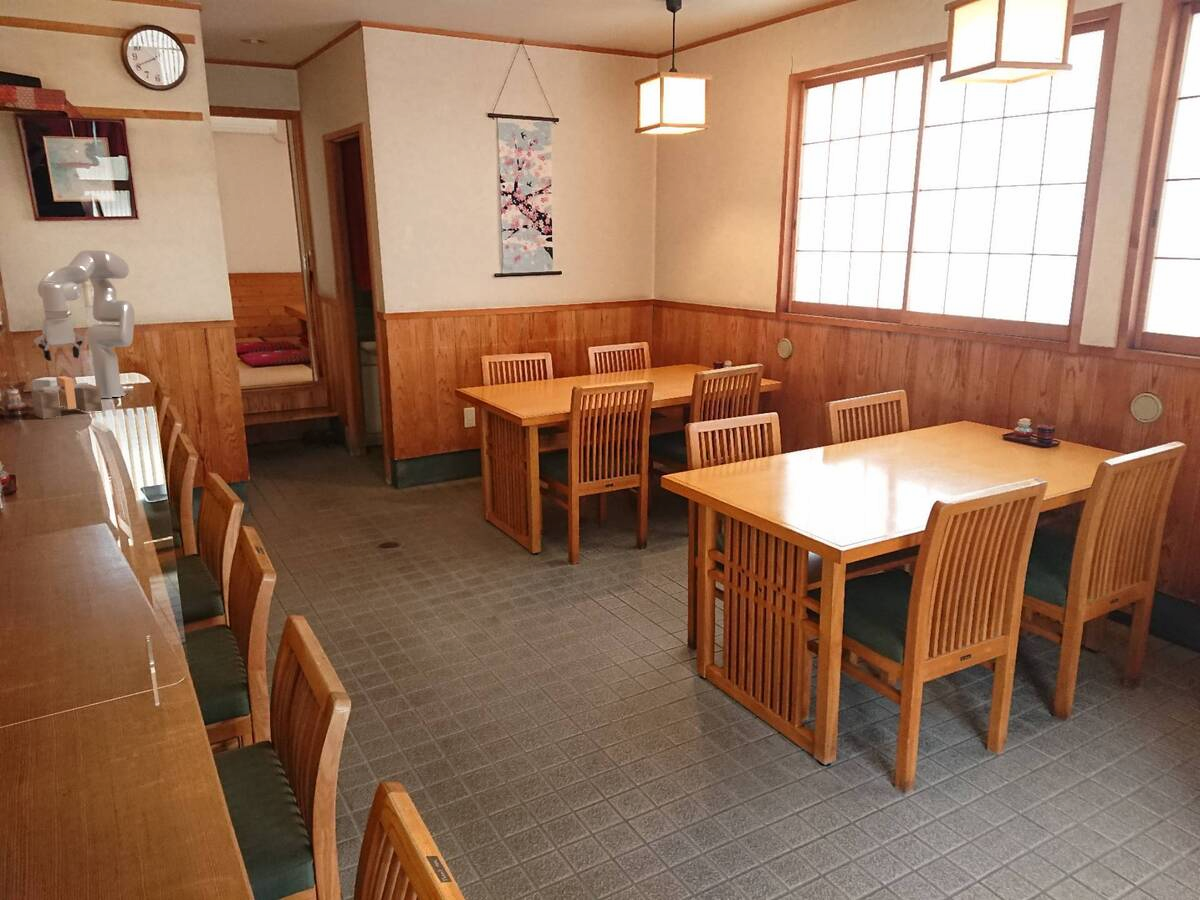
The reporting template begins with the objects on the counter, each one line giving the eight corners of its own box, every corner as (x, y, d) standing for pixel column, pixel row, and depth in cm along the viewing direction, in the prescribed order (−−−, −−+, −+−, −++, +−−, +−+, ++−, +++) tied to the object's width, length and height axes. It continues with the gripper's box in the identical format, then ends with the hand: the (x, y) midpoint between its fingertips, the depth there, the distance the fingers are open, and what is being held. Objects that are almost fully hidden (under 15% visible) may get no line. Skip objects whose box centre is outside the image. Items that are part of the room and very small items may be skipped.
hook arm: (86, 386, 338) (86, 382, 338) (88, 386, 337) (88, 383, 337) (42, 390, 326) (41, 387, 326) (43, 391, 325) (43, 387, 325)
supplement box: (53, 411, 338) (49, 380, 335) (35, 410, 338) (31, 379, 335) (65, 407, 345) (61, 377, 342) (47, 406, 345) (43, 376, 342)
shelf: (92, 408, 345) (89, 384, 343) (102, 411, 339) (99, 387, 337) (34, 415, 330) (31, 390, 327) (43, 419, 323) (40, 393, 321)
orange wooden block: (68, 405, 337) (64, 376, 334) (76, 408, 332) (72, 378, 329) (60, 406, 335) (56, 376, 332) (68, 409, 330) (64, 379, 327)
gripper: (77, 313, 333) (82, 355, 338) (27, 316, 320) (34, 360, 325) (84, 314, 329) (90, 357, 334) (34, 318, 316) (41, 362, 321)
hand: (62, 358), depth 329 cm, fingers open, 9 cm apart
